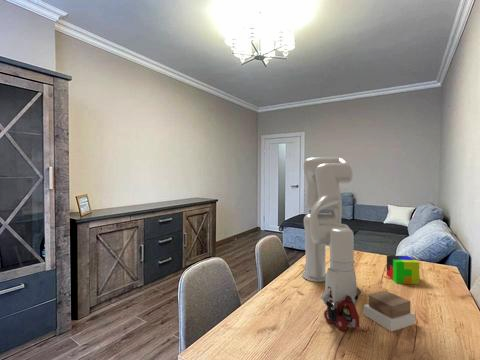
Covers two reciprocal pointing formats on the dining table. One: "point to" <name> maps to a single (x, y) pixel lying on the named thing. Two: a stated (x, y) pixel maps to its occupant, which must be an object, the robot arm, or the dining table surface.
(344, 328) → the toy fire truck
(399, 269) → the puzzle toy
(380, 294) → the walnut block
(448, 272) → the dining table surface
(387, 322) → the grey block
